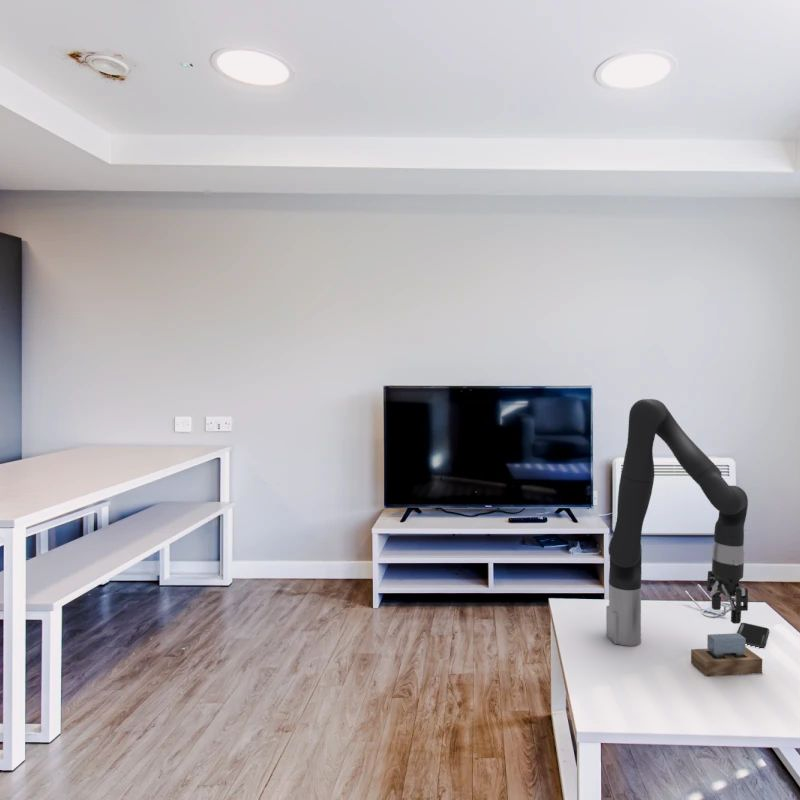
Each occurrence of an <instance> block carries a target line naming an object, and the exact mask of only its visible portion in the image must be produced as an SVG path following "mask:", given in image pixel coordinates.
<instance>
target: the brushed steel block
mask: <svg viewBox="0 0 800 800" xmlns="http://www.w3.org/2000/svg"><path fill="white" fill-rule="evenodd" d="M706 639H707V648H706V649H709V655H710V656H711V657H713V658H714V659H723V653H730V654H731V655H732V656H734V657H735V658H744V652H745V647H746V645H745V644H746V638H744V637H743V636H742V635H740V634H739V633H737V632H736V633H735V632H734V633H718V634H717V633H714V634H713V633H712V634H707V637H706Z"/></svg>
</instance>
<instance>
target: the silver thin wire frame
mask: <svg viewBox="0 0 800 800" xmlns="http://www.w3.org/2000/svg"><path fill="white" fill-rule="evenodd" d="M696 586H697V587H698V588H699V589H700V590H701V591H702V592H703V593H704V594H705V596H706V597H707V598H708V599H709V600H710V601H711V602H712V597H710V596H711V595H710V596H709V594H708V593H707V592H706V591H705V590H704V589H703V587H702V586H701V584H697V585H696ZM684 593H685V594H686V595H687V596H688V597H689V598H690V599H691V601H692V602H693V603H694V604H695V605H696V606H697V607H698V608H699V609H700V610H701V614H702V616H705V617H708V618H717V617H721V616H722V617H724V616H726V613H728V612H731V609H732V607H731V604H730V602H725V601H723V602H722V601H721V608H720V610H714V609H712V605H710V606H708V607H706V608H703V607H701V605H700V604H699V603H698V602H697V601H696V600H695V599H694V597H692V595H690V593H689V592H688V591H687V590H685V591H684ZM732 598H736V596H734V597H732ZM734 603H735V605H736V601H734ZM705 612H707V613H710V614H713V615H710V614H706V613H705Z"/></svg>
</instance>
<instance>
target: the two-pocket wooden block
mask: <svg viewBox="0 0 800 800" xmlns="http://www.w3.org/2000/svg"><path fill="white" fill-rule="evenodd" d="M690 664H691V665H693V666H694V667H695V668H696V669H697V670H698V671H699V672H701V674H703V675H704V676H705V677H715V676H716V675H721V676H736V675H735V674H739V675H749V674H748V673H751V674H750V675H753V674H752V673H757V674H763V658H762V657H760V656H759V655H758V654H756V653H755V652H753V651H752V650H751V649H749V648H748V647H746V646H745V652H744V658H735V657H734V656H732V655H731V654H730V653H723V659H714V658H713V657H711V656H710V655H709V649H707V648H694V649H693V648H691V649H690Z"/></svg>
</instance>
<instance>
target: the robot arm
mask: <svg viewBox="0 0 800 800" xmlns="http://www.w3.org/2000/svg"><path fill="white" fill-rule="evenodd" d="M627 431H628V432H627V442H626V448H625V452H624V453H625V454H624V456H623V458H624V459H623V463H622V469H621V474H620V479H619V485H618V493H617V494H618V495H617V507H616V508H617V511H616V522H615V525H614V529H613V534H612V537H611V538H610V541H609V544H608V554H609V570H608V571H609V572H608V605H606V614H605V616H606V617H605V618H606V620H605V621H606V622H605V623H606V625H605V627H606V631H605V633H606V637H607V638H608V639H609V640H610V642H612V643H613V644H614V645H620V646H625V647H626V646H627V647H628V646H629V647H634V646H635V647H636V646H638V645H640V644H641V641H642V550H643V549H642V548H643V547H642V532H643V531H642V530H643V525H644V520H645V517H646V515H647V512H648V509H649V504H650V501H651V496H652V493H653V486H654V481H655V463H654V455H653V453H654V452H653V451H654V450H653V449H654V448H653V447H654V442H655V437H656V436H658V437H659V438H660V439H661V440H662V441H663V442H664V443H665V444H666V446H667V447H668V448H669V450H670V451H671V453H672V454H673V456H674V457H675V460H677V462H678V463H679V465H680V466H681V468H682V469H683V470H684V471H685V472H686V473H687V475H688V476H689V477H690V478H691V479H692V480H693V481H694V482H695V483H696V484H697V485H698V486H699V488H700V489H701V491H702V493H703V494H704V496H705V497H706V498H707V500H708V501H709V502H710V504H711V506H713V507H714V508H715V509H716V510H717V511H718V518H717V521H716V522H715V525H714V531H713V532H714V533H713V534H714V535H713V546H712V557H711V559H712V560H711V570H708V571H707V579H706V580H707V581H706V582H707V583H706V591H708V592H709V593H710V596H711V599H712V601H711V606H712V609H714V610H720V608H721V602H722V597H721V596H722V595H723V596H724V597H725V598H726V600H727V602H728V603H729V604H731V607H732V608H731V610H730V622H731V623H732V624H741V621H742V619H741V618H742V612H744V611H746V612H747V611H748V610H749V590H748V588H747V587H741V586H740V580H742V579H743V578H744V569H745V567H744V566H745V550H744V549H745V548H744V544H745V543H744V541H745V540H744V539H745V523H746V518H747V513H748V508H749V507H748V505H749V504H748V503H749V499H748V495H747V493H746V491H745V490H744V489H742V488H741V487H739V486H737V485H730V484H729V483H727V481H726V480H725V479H724V478H723V476H722V474H723V473H722V471H721V470H720V469H719V467H718V466H717V465H716V464H715V463H714V461H712V459H710V458H709V457H708V456H707V455H706V454H705V453H704V451H702V449H701V448H699V447H698V445H697V444H695V442H694V441H693V440H692V439H691V438H690V437H689V435H688V434H687V433H686V432H685V431H684V430H683V429H682V427H681V426H680V424H679V423H678V422H677V420H676V419H675V417H674V416H673V415H672V413H671V412H670V410H669V409H668V408H667V406H666V405H665V404H664V403H663V402H662V401H661V400H659V399H655V398H649V399H648V398H643V399H639V400H637V401H635V403H634V404H632V406H631V408H630V410H629V415H628V430H627ZM712 585H713V586H712ZM732 597H735V598H732ZM735 601H736V605H735Z"/></svg>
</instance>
